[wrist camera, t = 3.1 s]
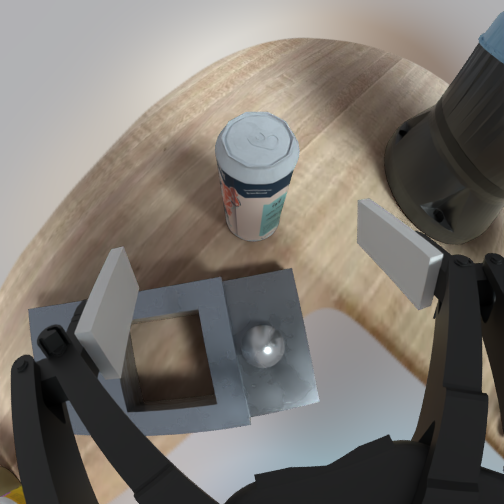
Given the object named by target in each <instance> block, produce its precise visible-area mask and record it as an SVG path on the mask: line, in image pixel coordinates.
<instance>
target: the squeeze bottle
mask: <svg viewBox="0 0 504 504" xmlns="http://www.w3.org/2000/svg"><path fill="white" fill-rule="evenodd" d="M19 486H21V483H20V482H19V480H18V479H17V478H16V477H15V476H14V475H13V474H12V473H11V472H10V471H9V470H7V469H6V468H4V467H1V466H0V497H1V496H3V495H5V494H7V493H9V492H11V491H12V490H14V489H16V488H18V487H19Z"/></svg>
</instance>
